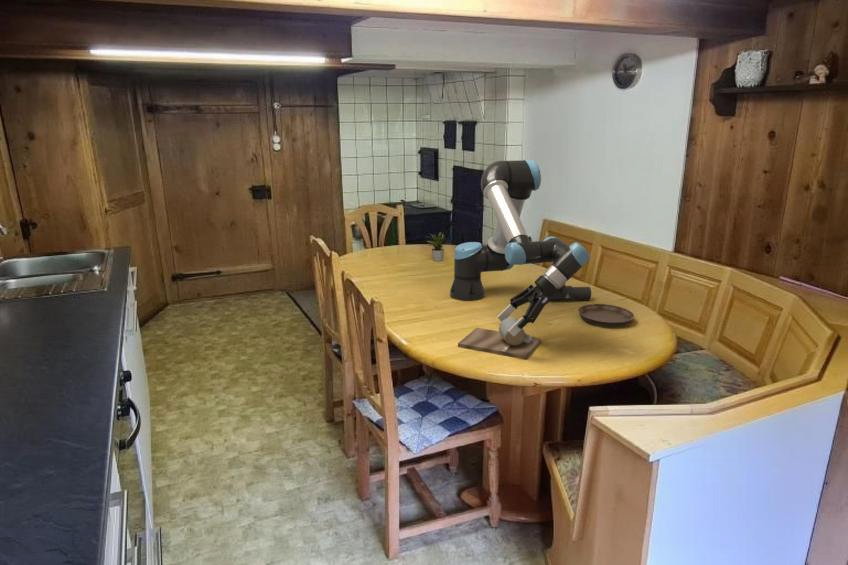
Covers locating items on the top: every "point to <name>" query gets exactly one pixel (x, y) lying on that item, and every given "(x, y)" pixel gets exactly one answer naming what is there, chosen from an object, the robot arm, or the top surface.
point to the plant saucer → (605, 315)
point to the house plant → (437, 247)
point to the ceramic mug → (511, 339)
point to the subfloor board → (497, 344)
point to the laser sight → (571, 294)
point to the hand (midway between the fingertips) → (504, 326)
